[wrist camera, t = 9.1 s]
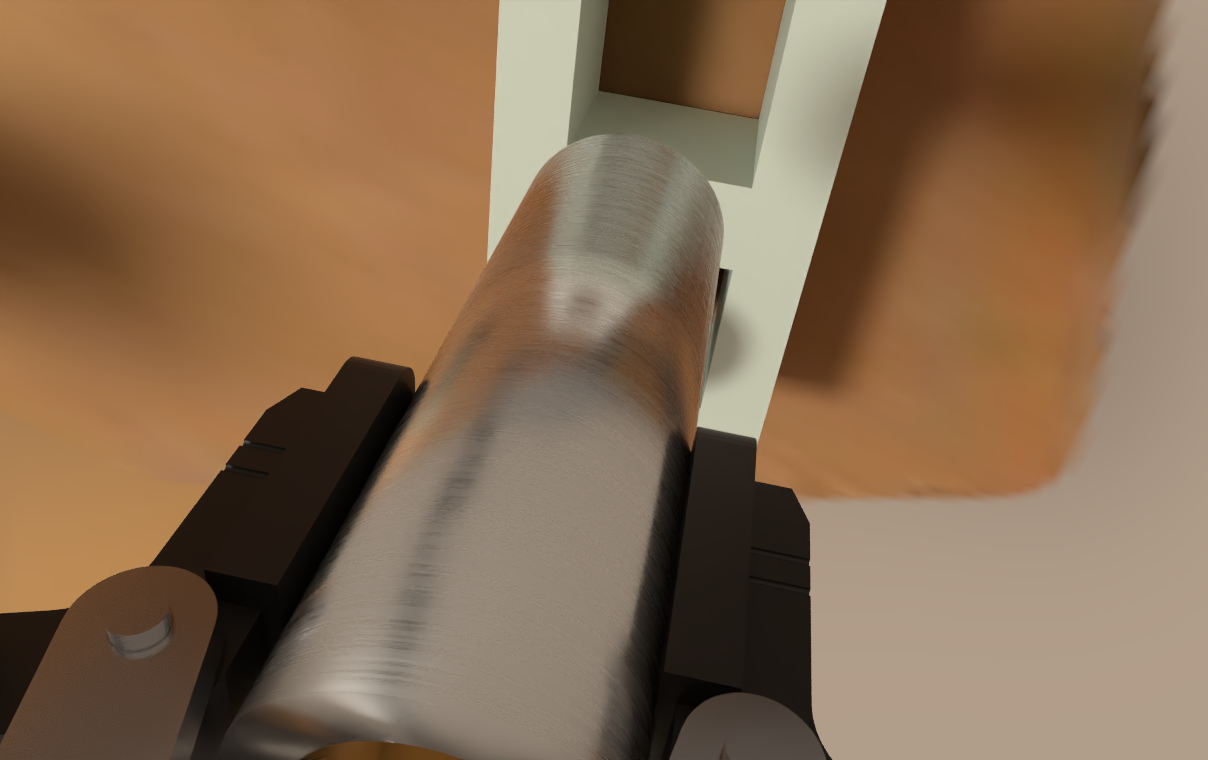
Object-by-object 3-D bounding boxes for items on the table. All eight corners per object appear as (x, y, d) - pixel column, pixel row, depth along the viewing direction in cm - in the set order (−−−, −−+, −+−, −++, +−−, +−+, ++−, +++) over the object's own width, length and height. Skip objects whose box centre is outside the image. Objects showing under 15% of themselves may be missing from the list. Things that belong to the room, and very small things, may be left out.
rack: (553, -171, 25) (468, -124, 18) (891, -116, 24) (923, -48, 18) (517, 324, 34) (452, 467, 28) (757, 372, 34) (748, 528, 28)
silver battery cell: (531, 115, 16) (106, 772, 6) (743, 154, 15) (648, 901, 6) (518, 296, 18) (189, 990, 8) (703, 333, 18) (586, 1090, 8)
